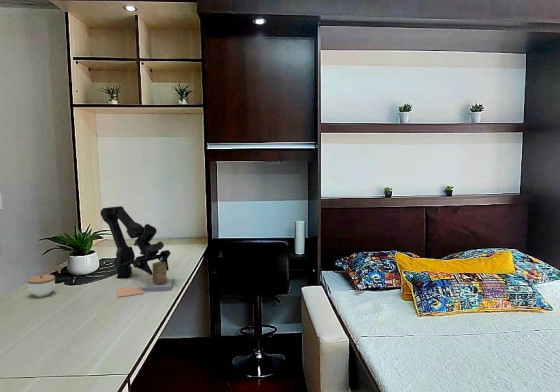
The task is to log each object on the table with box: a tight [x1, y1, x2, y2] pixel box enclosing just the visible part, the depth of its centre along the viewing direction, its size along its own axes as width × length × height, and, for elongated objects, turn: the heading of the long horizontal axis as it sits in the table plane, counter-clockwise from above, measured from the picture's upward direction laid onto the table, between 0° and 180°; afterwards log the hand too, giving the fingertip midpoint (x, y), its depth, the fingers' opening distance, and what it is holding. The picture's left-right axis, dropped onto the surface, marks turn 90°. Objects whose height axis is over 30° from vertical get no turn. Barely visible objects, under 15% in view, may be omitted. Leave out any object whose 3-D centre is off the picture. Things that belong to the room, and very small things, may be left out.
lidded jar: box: [27, 274, 56, 298], centre depth 183 cm, size 11×11×9 cm
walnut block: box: [152, 261, 168, 285], centre depth 192 cm, size 4×4×10 cm
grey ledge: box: [145, 278, 174, 292], centre depth 193 cm, size 11×11×2 cm
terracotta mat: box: [116, 285, 145, 298], centre depth 186 cm, size 11×11×1 cm
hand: (160, 272), depth 192 cm, fingers open, 9 cm apart
